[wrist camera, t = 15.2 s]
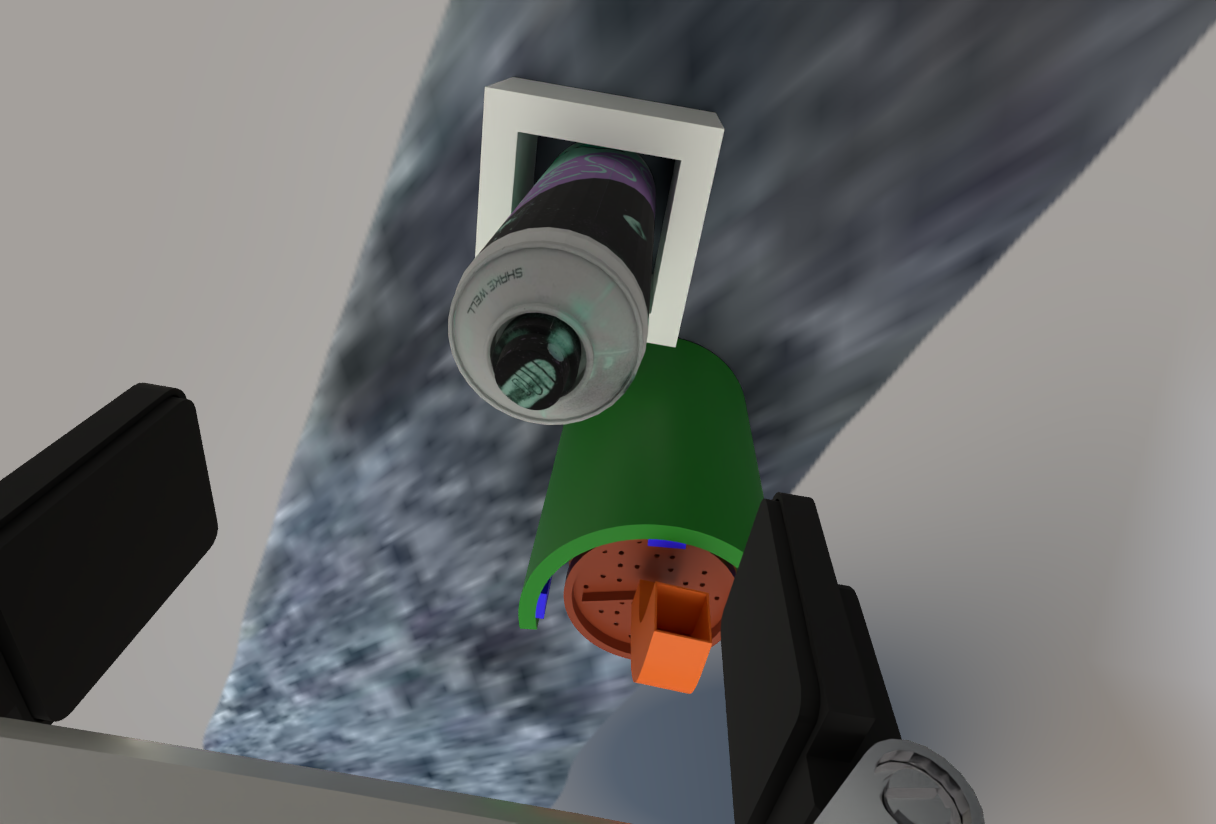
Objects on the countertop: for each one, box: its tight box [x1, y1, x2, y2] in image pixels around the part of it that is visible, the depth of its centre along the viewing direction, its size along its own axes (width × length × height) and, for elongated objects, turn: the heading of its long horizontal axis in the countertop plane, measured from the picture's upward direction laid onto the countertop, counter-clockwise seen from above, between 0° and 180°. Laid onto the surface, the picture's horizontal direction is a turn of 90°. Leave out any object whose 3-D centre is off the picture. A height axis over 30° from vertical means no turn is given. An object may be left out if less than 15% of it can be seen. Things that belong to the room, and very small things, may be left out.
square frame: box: [475, 77, 724, 347], centre depth 31 cm, size 9×9×6 cm
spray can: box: [448, 142, 656, 425], centre depth 25 cm, size 6×6×20 cm
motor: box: [518, 339, 764, 694], centre depth 31 cm, size 10×9×20 cm
